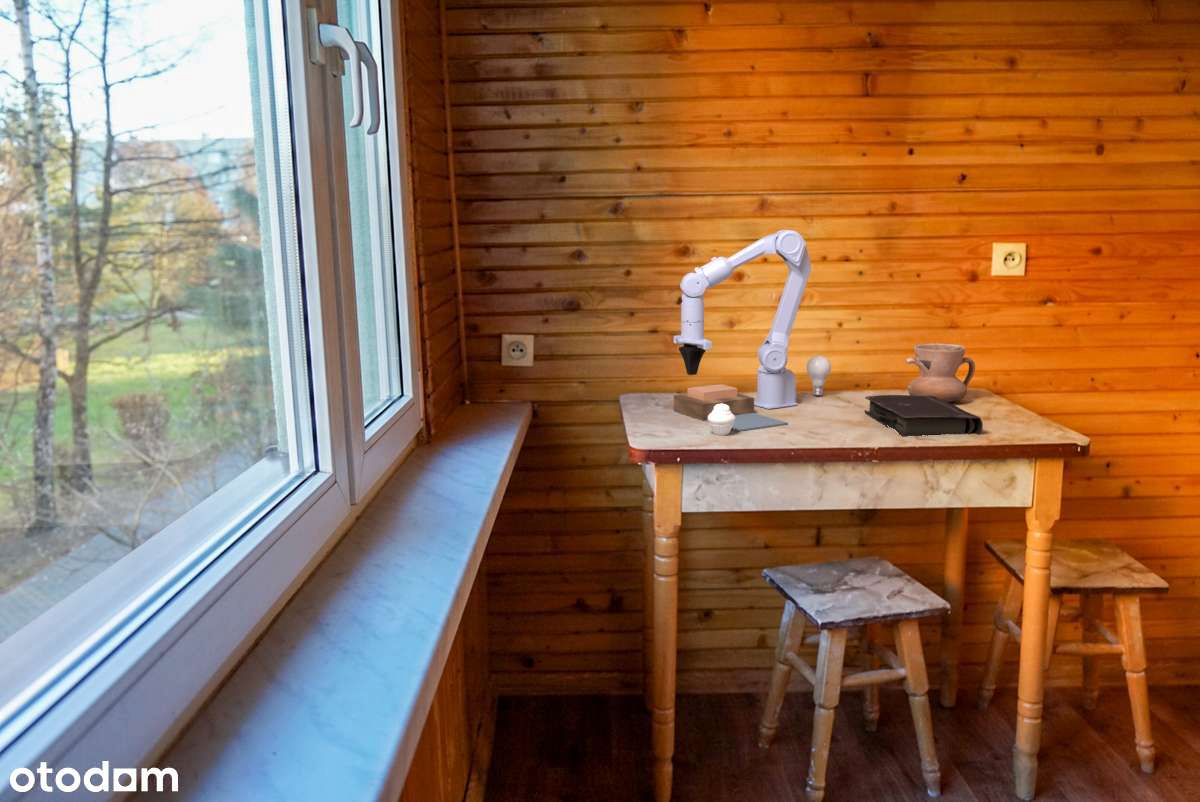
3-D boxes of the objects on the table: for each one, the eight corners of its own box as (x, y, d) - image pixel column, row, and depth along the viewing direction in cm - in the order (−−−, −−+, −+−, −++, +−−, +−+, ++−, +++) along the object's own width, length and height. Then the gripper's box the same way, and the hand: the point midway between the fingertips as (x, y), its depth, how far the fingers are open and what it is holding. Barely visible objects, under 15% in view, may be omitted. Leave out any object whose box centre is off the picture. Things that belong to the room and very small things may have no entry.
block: (720, 391, 236) (720, 384, 236) (737, 396, 230) (737, 388, 230) (687, 395, 231) (687, 388, 231) (703, 400, 225) (703, 392, 225)
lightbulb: (802, 394, 252) (804, 353, 250) (826, 393, 253) (827, 353, 251) (809, 398, 246) (810, 357, 244) (833, 398, 247) (834, 356, 244)
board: (722, 404, 240) (723, 389, 239) (754, 413, 229) (754, 397, 228) (673, 411, 233) (673, 395, 232) (703, 420, 222) (703, 404, 221)
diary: (935, 414, 229) (936, 394, 228) (981, 438, 205) (983, 415, 204) (860, 414, 228) (861, 394, 227) (898, 439, 204) (900, 416, 203)
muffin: (738, 432, 210) (739, 401, 209) (730, 437, 205) (730, 406, 203) (712, 429, 213) (713, 399, 212) (703, 435, 208) (703, 404, 206)
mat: (753, 414, 228) (753, 412, 228) (788, 424, 217) (788, 422, 217) (706, 420, 222) (706, 419, 222) (738, 431, 210) (739, 429, 210)
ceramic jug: (912, 407, 234) (915, 350, 232) (895, 396, 249) (897, 342, 246) (984, 406, 234) (988, 350, 231) (963, 395, 248) (966, 342, 246)
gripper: (663, 319, 239) (663, 371, 242) (695, 325, 227) (694, 380, 230) (686, 317, 243) (686, 369, 245) (719, 323, 230) (718, 377, 233)
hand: (691, 374), depth 238 cm, fingers closed
